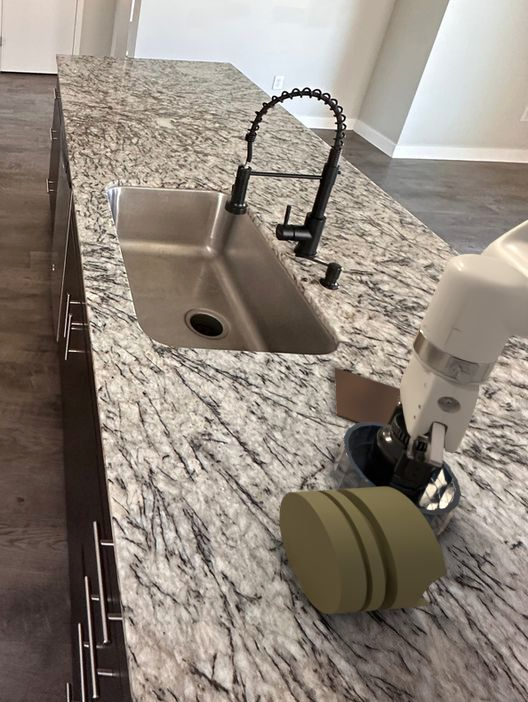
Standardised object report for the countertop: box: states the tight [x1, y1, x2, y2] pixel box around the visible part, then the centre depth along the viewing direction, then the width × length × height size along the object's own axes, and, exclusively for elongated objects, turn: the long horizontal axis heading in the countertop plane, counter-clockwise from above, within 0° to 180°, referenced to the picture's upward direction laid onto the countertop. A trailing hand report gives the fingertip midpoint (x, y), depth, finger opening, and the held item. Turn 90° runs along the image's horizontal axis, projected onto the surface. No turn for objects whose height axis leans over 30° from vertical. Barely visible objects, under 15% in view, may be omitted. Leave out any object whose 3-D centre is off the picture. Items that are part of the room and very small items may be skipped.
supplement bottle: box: [362, 413, 437, 507], centre depth 72 cm, size 7×7×12 cm
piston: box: [278, 486, 448, 615], centre depth 62 cm, size 11×12×11 cm
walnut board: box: [333, 367, 401, 424], centre depth 88 cm, size 12×11×1 cm
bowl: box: [333, 422, 462, 538], centre depth 73 cm, size 13×13×6 cm
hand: (404, 453), depth 71 cm, fingers closed on supplement bottle, 6 cm apart
